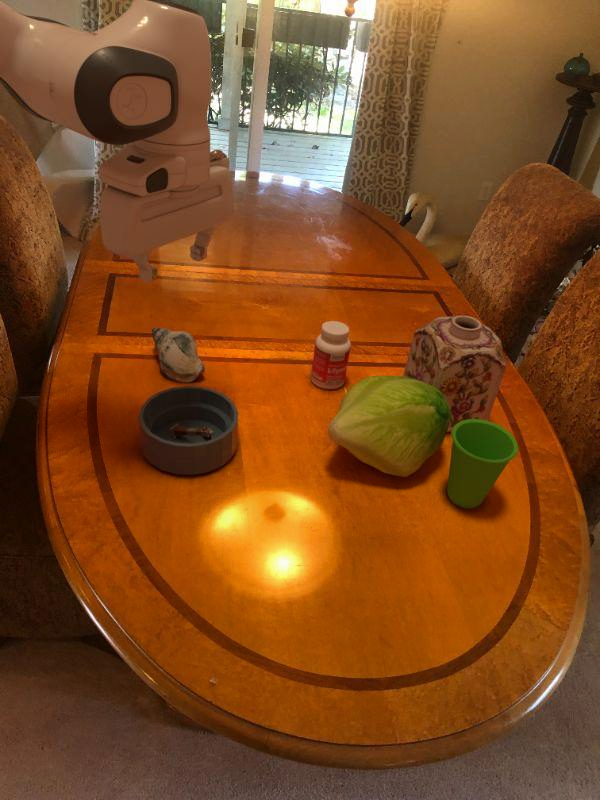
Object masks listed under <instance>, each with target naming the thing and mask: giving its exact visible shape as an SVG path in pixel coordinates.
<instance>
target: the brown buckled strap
mask: <svg viewBox="0 0 600 800" xmlns="http://www.w3.org/2000/svg"><path fill="white" fill-rule="evenodd" d="M170 432H171V434H172V437H173V439H176V438H177V437H178V436H182V435H188V436H193V437H194V436H195V437H197V436H202V438H203V439H204V440H205V441H209V440H211V439H212V438H211V435H213V433H214V432H213V431H212V430H211V428H207V427H203V428H202V429H199V428H190V429H187V428H183V427H180V425H179V424H178V423H177V424H176V425H174V426H173V427H171V428H170Z"/></svg>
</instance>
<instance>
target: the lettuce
mask: <svg viewBox="0 0 600 800" xmlns="http://www.w3.org/2000/svg"><path fill="white" fill-rule="evenodd" d="M450 419H451V412H450V406H449V404H448V403H447V401H446V399H445V397H444V396H443V394H442V392H440V391H439V390H438V389H436V388H435V387H434V386H432V385H429V384H427V383H424V382H422V381H419V380H417V379H414V378H412V377H403V376H400V375H371V376H367V377H364V378H362V379H360V380H359V381H357V382H356V383H355V384H353V385H352V386H351V387H350V388H349V389H348V390H347V392H346V393H345V394H344V395H343V397H342V399H341V401H340V405H339V408H338V412H337V414H336V415H335V416H334V417H333V418H332V419H331V421H330V423H329V424H328V427H327V433H328V436H329V438H330V440H331V441H332V443H334V445H335V444H336V445H339V446H341V447H342V448H344V449H346V450H347V451H348V452H349V453H350V454H351V455H353V456H354V458H356V459H357V460H358V461H360V462H362V463H363V464H366V465H369V466H371V467H373V468H375V469H376V470H378V471H380V472H382V473H384V474H387V475H391V476H395V477H402V478H403V477H404V478H408V477H409V476H410V475H412V474H414V473H415V472H417V471H418V470H419V469H420V468H421V466H423V464H424V463H425V462H426V460H428V459H429V458H430V457H432V456H433V455H434V454H435V453H436V452H437V451H438V450H439V449H440V448H441V446H442V445H443V444H444V441H445V438H446V436H447V433H448V432H447V430H448V427H449V424H450Z"/></svg>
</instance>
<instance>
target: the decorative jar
mask: <svg viewBox="0 0 600 800" xmlns="http://www.w3.org/2000/svg"><path fill="white" fill-rule="evenodd" d="M506 369H507V362H506V356H505V352H504V350H503V345H502V340H501V339H500V337H498V335H497V334H496V333H495V332H494V331H493V330H492V329H491V327H489V326H487V325H485V324H482V323H481V321H480V320H478V319H477V318H475V317H474V316H469V315H456V316H439V317H436V318H434V319H433V320H430V321H428V322H427V323H425V324H423V325H421V326H420V327H419V328H417V329H416V330H414V332H413V335H412V340H411V343H410V347H409V352H408V354H407V359H406V363H405V367H404V371H403V374H402V375H403V376H402V377H412V378H414V379H417V380H419V381H422V382H424V383H427V384H429V385H432V386H434V387H435V388H436V389H438V390H439V391H440V392H442V394H443V396H444V397H445V399H446V401H447V403H448V404H449V406H450V412H451V419H450V424H449V427H448V430H447V433H451V432H452V429H453V427H454V426H455V425H456V424H457V423H459V422H460V421H463V420H467V419H481V420H486V421H489V418H490V416H491V413H492V410H493V407H494V405H495V401H496V398H497V396H498V393H499V390H500V387H501V384H502V381H503V378H504V374H505V372H506Z"/></svg>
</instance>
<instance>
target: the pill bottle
mask: <svg viewBox="0 0 600 800" xmlns="http://www.w3.org/2000/svg"><path fill="white" fill-rule="evenodd" d="M349 333H350V327H349V326H348V324H346V323H343V322H341V321H337V320H328V321H326V322H324V323H322V325H321V329H320V334H319V335H317V337H316V339H315V342H314V350H313V357H312V365H311V372H310V380H311V382H312V383H313V384H314V385H315V386H316V387H317V388H320V389H323V390H337V389H339V388H341V387H342V386H343V385H344V383H345V381H346V376H347V369H348V365H349V359H350V358H349V357H350V353H351V346H352V343H351V340H350V338H349Z"/></svg>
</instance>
